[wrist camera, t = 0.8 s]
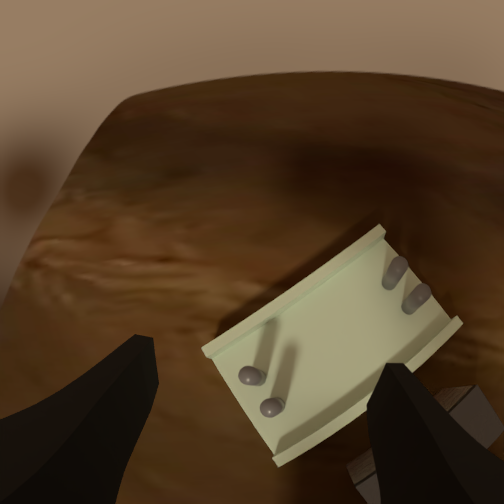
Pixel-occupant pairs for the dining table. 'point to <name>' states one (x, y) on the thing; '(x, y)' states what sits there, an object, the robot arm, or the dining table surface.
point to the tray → (329, 345)
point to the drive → (462, 411)
